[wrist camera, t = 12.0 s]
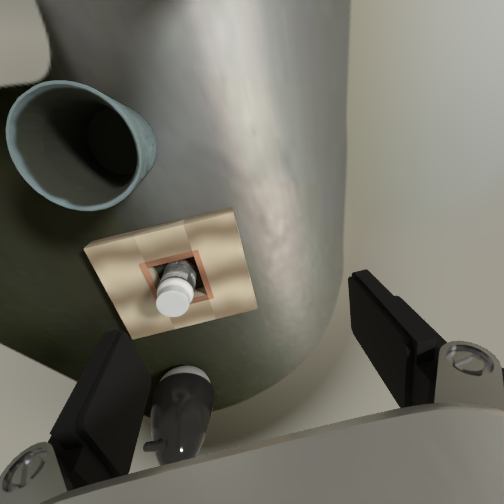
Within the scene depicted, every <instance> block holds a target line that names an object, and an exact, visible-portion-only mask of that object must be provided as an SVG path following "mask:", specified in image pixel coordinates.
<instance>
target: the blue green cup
mask: <svg viewBox="0 0 504 504" xmlns="http://www.w3.org/2000/svg"><path fill="white" fill-rule="evenodd" d="M6 140H7V145H8V150H9V153H10V156H11V158H12V160H13V162H14V164H15V166H16V168H17V170H18V171H19V173H20V174H21V175H22V177H23V178H24V179H25V180H26V182H27V183H28V184H29V185H30V186H31V187H32V188H33V189H34V190H35V191H37V192H38V193H39V194H41V195H42V196H44V197H45V198H47V199H48V200H50V201H52V202H54V203H56V204H58V205H60V206H63V207H66V208H69V209H74V210H79V211H97V210H102V209H107V208H109V207H112V206H114V205H116V204H117V203H119V202H120V201H122V200H123V199H124V198H126V197H127V196H128V195H129V194H130V193H131V192H132V190H133V189H134V188H135V187H136V185H137V184H138V183H139V181H140V180H141V179H142V178H143V177H144V176H145V175H146V174H147V173H148V172H149V171H150V170H151V168H152V167H153V165H154V163H155V161H156V157H157V142H156V138H155V135H154V133H153V131H152V129H151V127H150V126H149V124H148V123H147V122H146V120H145V119H144V118H143V117H142V116H141V115H139V114H138V113H137V112H135V111H134V110H132V109H130V108H128V107H126V106H124V105H123V104H121V103H119V102H117V101H116V100H113V99H111V98H110V97H108V96H106V95H104V94H103V93H101V92H99V91H98V90H96V89H94V88H91V87H89V86H87V85H84V84H81V83H78V82H72V81H66V80H53V81H47V82H43V83H40V84H37V85H35V86H33V87H32V88H30V89H29V90H28V91H26V92H25V93H24V94H22V95H21V96H19V97H18V99H17V100H16V101H15V103H14V104H13V106H12V107H11V109H10V112H9V115H8V118H7V123H6Z"/></svg>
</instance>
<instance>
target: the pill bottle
mask: <svg viewBox="0 0 504 504" xmlns="http://www.w3.org/2000/svg"><path fill="white" fill-rule="evenodd" d="M196 277H197V271H196V268H195V266H194V265H193V264H192V263H191V262H189V261H187V260H184V259H181V260H177V261H173V262H169V263H168V264H167V266H166V267H165V270H164V273H163V276H162V278H161V281H160V283H159V286H158V289H157V299H156V307H157V309H158V311H159V312H160V313H161V314H163V315H165V316H168V317H178V316H181V315H183V314H184V313H185V312H186V311H187V310H188V307H189V304H190V303H191V301H192V299H193V297H194V290H195V284H196Z"/></svg>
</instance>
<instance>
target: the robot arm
mask: <svg viewBox="0 0 504 504" xmlns="http://www.w3.org/2000/svg"><path fill="white" fill-rule="evenodd" d="M348 285H349V300H350V315H351V328H352V331H353V334H354V336H355V337H356V339H357V340H358V342H359V343H360V345H361V347H362V348H363V350H364V351H365V353H366V355H367V356H368V358H369V359H370V361H371V362H372V364H373V366H374V367H375V369H376V370H377V372H378V374H379V375H380V377H381V378H382V380H383V381H384V383H385V384H386V386H387V388H388V389H389V391H390V393H391V394H392V396H393V397H394V399H395V400H396V402H397V403H398V405H399V406H400V408H399V409H394V410H390V411H385V412H381V413H376V414H372V415H367V416H363V417H358V418H354V419H350V420H345V421H341V422H338V423H333V424H329V425H325V426H320V427H316V428H312V429H308V430H304V431H300V432H296V433H291V434H288V435H283V436H279V437H275V438H271V439H267V440H263V441H259V442H255V443H250V444H246V445H242V446H239V447H234V448H230V449H226V450H222V451H218V452H214V453H210V454H206V455H202V456H198V457H194V458H190V459H186V460H182V461H178V462H174V463H170V464H166V465H162V466H158V467H154V468H150V469H147V470H143V471H139V472H135V473H131V474H128V473H129V470H130V466H131V462H132V458H133V454H134V450H135V446H136V443H137V438H138V435H139V431H140V427H141V423H142V419H143V415H144V411H145V407H146V403H147V400H148V396H149V392H150V388H151V376H150V374H149V372H148V371H147V369H146V367H145V365H144V363H143V361H142V360H141V358H140V356H139V354H138V352H137V351H136V349H135V347H134V345H133V343H132V341H131V340H130V338H129V336H128V334H127V333H126V332H122V331H121V330H115V331H111V332H107V333H104V334H103V336H102V338H101V340H100V341H99V343H98V345H97V347H96V349H95V351H94V352H93V354H92V356H91V358H90V360H89V362H88V364H87V365H86V367H85V369H84V371H83V373H82V375H81V376H80V378H79V380H78V382H77V384H76V386H75V388H74V389H73V391H72V393H71V395H70V397H69V399H68V401H67V403H66V404H65V406H64V408H63V410H62V412H61V414H60V415H59V417H58V419H57V421H56V423H55V425H54V427H53V428H52V430H51V432H50V434H51V435H52V436H51V437H50V439H49V441H48V443H47V442H41V443H37V444H35V445H33V446H30V447H29V448H27V449H26V450H24V451H23V452H21V453H20V454H19V455H18V456H17V457H15V458H14V459H13V460H12V462H11V463H10V464H9V465H8V466H7V467H6V469H5V470H4V471H3V473H2V474H1V476H0V504H504V368H502V367H501V365H500V362H499V360H498V359H497V358H496V357H495V355H493V354H492V353H491V352H490V351H488V350H487V349H485V348H483V347H481V346H479V345H477V344H473V343H470V342H464V341H452V342H449V343H447V342H446V341H445V340H444V339H443V338H442V337H441V336H440V335H439V334H438V333H437V332H436V331H435V330H434V329H433V328H432V327H430V326H429V325H428V324H427V323H426V322H425V321H424V320H423V319H422V318H421V317H420V316H419V315H418V314H417V313H416V312H415V311H414V310H413V309H412V308H411V307H410V306H409V305H408V304H407V303H406V302H405V301H404V300H403V299H402V298H400V297H399V296H393V295H392V294H391V293H390V292H389V291H388V290H387V289H386V288H385V287H384V286H383V285H382V284H381V283H380V282H379V281H378V280H377V279H376V278H375V277H374V276H373V275H372V274H371V273H370V272H369V271H368V270H362V271H358V272H353V273H352V277H349V278H348Z"/></svg>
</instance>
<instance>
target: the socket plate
mask: <svg viewBox="0 0 504 504" xmlns="http://www.w3.org/2000/svg"><path fill="white" fill-rule="evenodd" d="M84 251H85V253H86V255H87V256H88V258H89V260H90V262H91V264H92V266H93V267H94V269H95V271H96V273H97V275H98V277H99V278H100V280H101V282H102V284H103V286H104V288H105V290H106V291H107V293H108V295H109V297H110V299H111V301H112V302H113V304H114V306H115V308H116V310H117V312H118V313H119V315H120V317H121V319H122V321H123V323H124V324H125V326H126V328H127V330H128V332H129V334H130V335H131V337H132V339H137V338H141V337H145V336H149V335H153V334H157V333H161V332H165V331H169V330H173V329H177V328H181V327H186V326H190V325H194V324H198V323H202V322H206V321H210V320H214V319H218V318H222V317H226V316H230V315H235V314H239V313H243V312H247V311H251V310H255V309H258V307H257V302H256V298H255V294H254V290H253V286H252V282H251V278H250V274H249V271H248V267H247V263H246V259H245V255H244V251H243V247H242V243H241V239H240V235H239V231H238V227H237V224H236V220H235V216H234V212H233V208H232V207H231V208H227V209H223V210H218V211H214V212H210V213H206V214H202V215H198V216H194V217H190V218H185V219H181V220H177V221H173V222H169V223H165V224H161V225H157V226H152V227H148V228H144V229H140V230H136V231H132V232H128V233H124V234H119V235H115V236H111V237H107V238H103V239H99V240H95V241H91V242H90V243H89V244H88V245H87V246H86V247H85V248H84ZM190 257H194V258H195V261H196V264H197V267H198V270H199V272H200V275H201V278H202V281H203V284H204V287H201V288H196V289H195V290H194V297H193V299H192V301H191V303H190V304H189V307H188V310H187V311H186V312H185V313H184V314H183V315H181V316H178V317H168V316H165V315H163V314H161V313H160V312H159V311H158V309H157V307H156V299H157V289H158V286H159V283H160V278H159V276H158V274H157V271H156V269H155V267H154V266H157V265H161V264H165V263H169V262H173V261H177V260H181V259H185V258H190Z"/></svg>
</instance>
